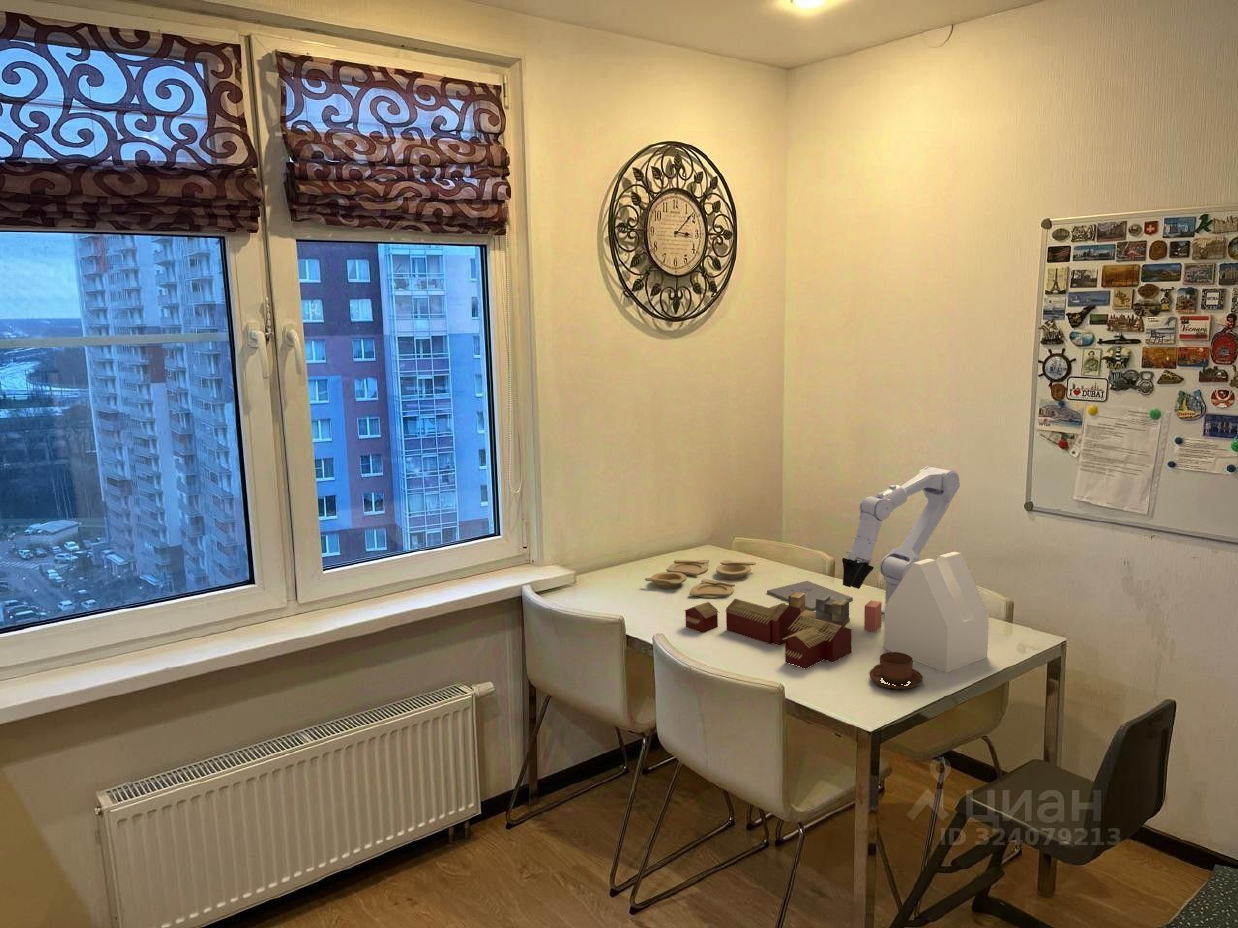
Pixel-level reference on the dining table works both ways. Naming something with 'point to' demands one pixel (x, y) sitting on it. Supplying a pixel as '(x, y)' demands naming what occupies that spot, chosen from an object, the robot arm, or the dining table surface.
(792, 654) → the toy houses
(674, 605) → the dining table surface
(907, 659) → the cup and saucer
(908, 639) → the milk carton
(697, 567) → the tableware set
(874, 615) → the red rectangular block
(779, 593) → the play button award
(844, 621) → the rack
